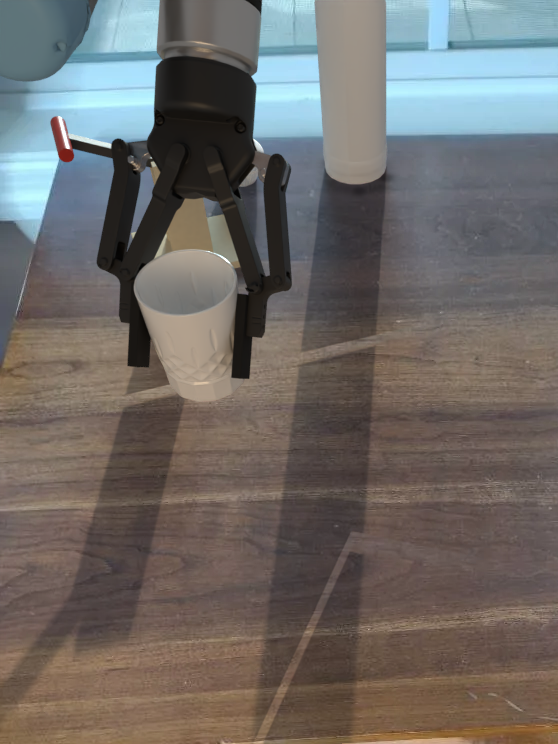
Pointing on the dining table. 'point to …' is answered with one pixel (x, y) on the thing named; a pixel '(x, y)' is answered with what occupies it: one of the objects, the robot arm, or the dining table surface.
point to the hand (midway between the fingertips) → (189, 372)
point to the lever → (78, 143)
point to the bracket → (196, 230)
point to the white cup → (192, 320)
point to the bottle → (352, 87)
